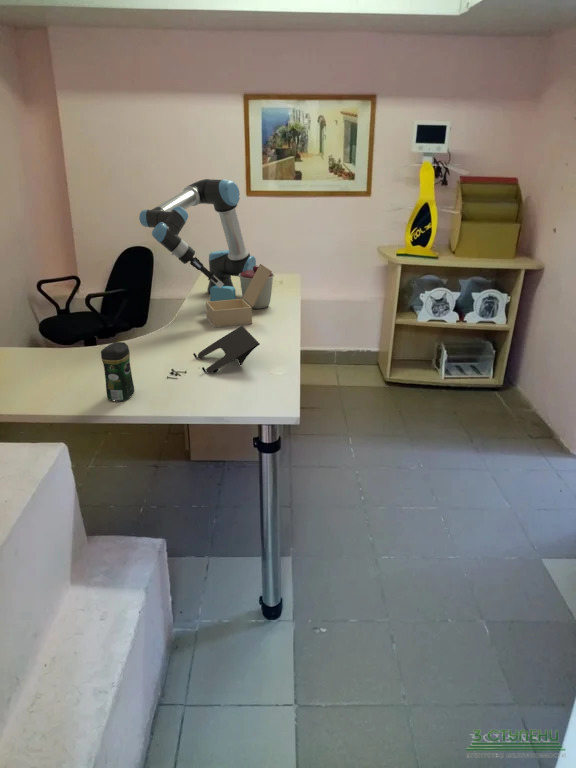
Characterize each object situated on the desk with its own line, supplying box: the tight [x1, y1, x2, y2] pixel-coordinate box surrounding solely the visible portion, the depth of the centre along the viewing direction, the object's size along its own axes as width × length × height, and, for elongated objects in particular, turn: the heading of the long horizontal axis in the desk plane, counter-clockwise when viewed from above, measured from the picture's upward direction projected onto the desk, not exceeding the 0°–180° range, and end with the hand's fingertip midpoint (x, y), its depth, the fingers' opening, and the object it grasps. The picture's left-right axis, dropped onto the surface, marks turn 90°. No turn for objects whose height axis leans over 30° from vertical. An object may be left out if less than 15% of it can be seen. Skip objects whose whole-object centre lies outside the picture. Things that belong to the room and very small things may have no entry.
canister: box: [238, 265, 275, 310], centre depth 290 cm, size 18×18×21 cm
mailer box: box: [205, 298, 253, 329], centre depth 269 cm, size 16×18×8 cm
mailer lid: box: [242, 263, 273, 306], centre depth 269 cm, size 16×18×1 cm
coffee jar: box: [100, 341, 135, 402], centre depth 188 cm, size 10×8×19 cm
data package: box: [209, 285, 237, 302], centre depth 285 cm, size 12×4×12 cm, turn 71°
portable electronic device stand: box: [192, 325, 260, 374], centre depth 220 cm, size 23×23×9 cm
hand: (221, 285), depth 263 cm, fingers closed
